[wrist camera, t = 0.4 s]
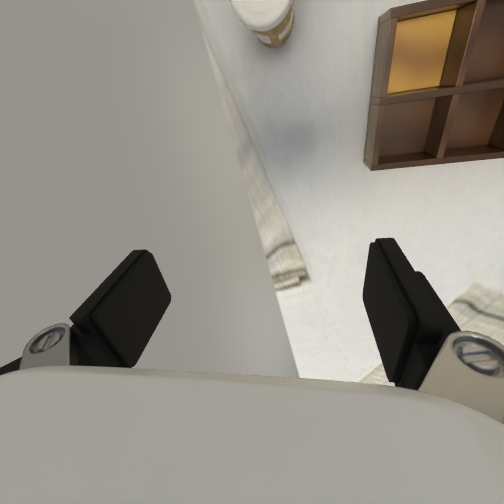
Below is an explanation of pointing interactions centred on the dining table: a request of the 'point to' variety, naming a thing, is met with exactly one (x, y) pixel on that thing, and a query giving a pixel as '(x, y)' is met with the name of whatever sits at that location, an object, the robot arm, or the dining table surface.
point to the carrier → (437, 85)
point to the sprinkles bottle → (267, 19)
